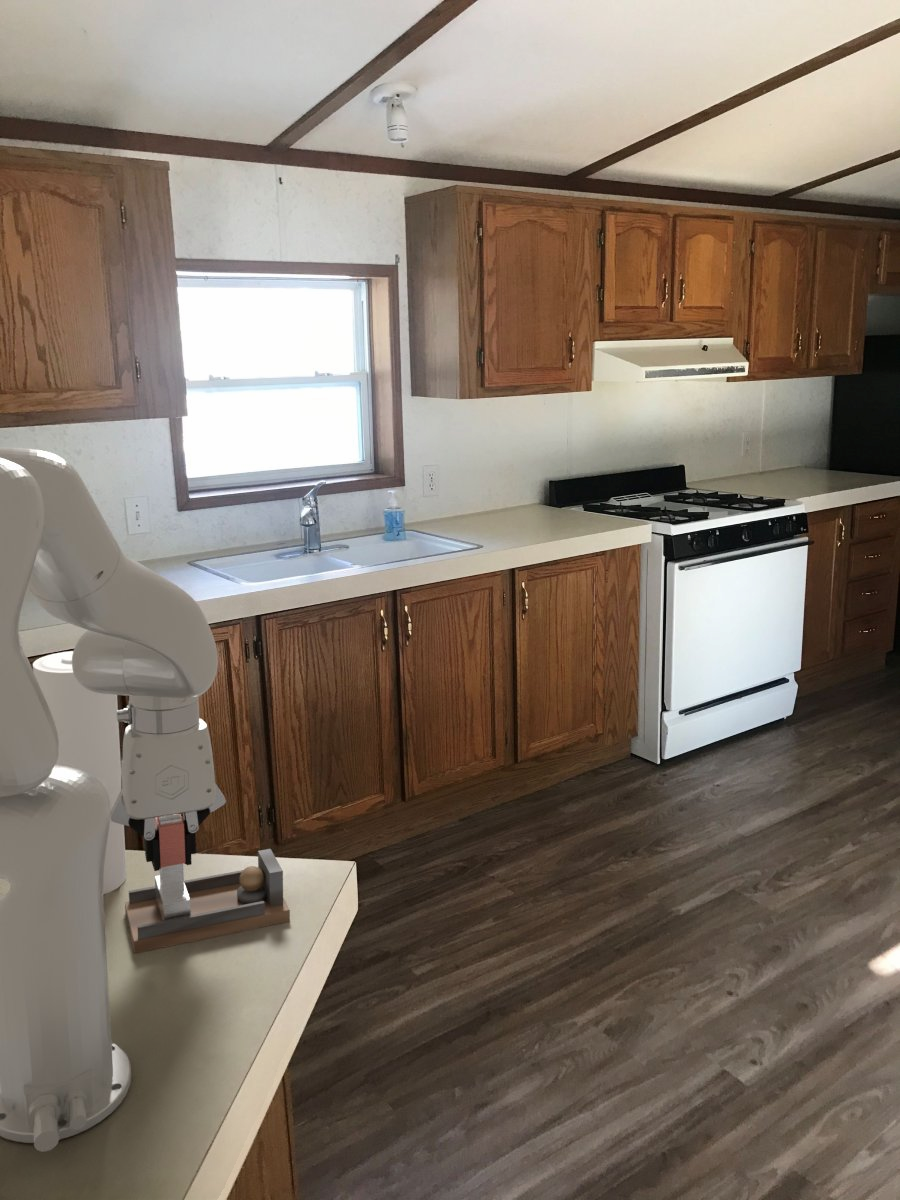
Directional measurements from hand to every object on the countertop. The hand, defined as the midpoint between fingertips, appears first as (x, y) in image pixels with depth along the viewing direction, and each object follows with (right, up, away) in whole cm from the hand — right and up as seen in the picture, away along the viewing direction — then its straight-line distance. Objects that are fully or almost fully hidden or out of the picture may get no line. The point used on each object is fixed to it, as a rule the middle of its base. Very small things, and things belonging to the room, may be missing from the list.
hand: (171, 861), depth 114 cm
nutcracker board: (+3, -8, +3) cm, 9 cm away
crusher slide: (0, -6, +1) cm, 6 cm away
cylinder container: (-14, -6, +11) cm, 19 cm away
